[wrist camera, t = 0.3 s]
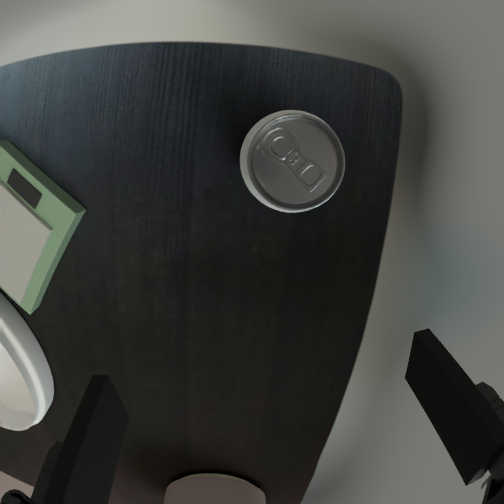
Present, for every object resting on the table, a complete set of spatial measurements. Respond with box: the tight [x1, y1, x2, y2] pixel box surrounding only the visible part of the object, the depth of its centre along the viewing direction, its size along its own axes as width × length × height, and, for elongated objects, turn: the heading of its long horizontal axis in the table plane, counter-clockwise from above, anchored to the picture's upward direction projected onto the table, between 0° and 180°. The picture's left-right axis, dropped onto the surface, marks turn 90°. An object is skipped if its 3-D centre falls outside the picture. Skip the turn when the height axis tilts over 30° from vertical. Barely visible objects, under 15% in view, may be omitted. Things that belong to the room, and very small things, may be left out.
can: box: [240, 110, 345, 213], centre depth 23 cm, size 6×6×12 cm
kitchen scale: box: [0, 140, 86, 314], centre depth 28 cm, size 15×14×3 cm
